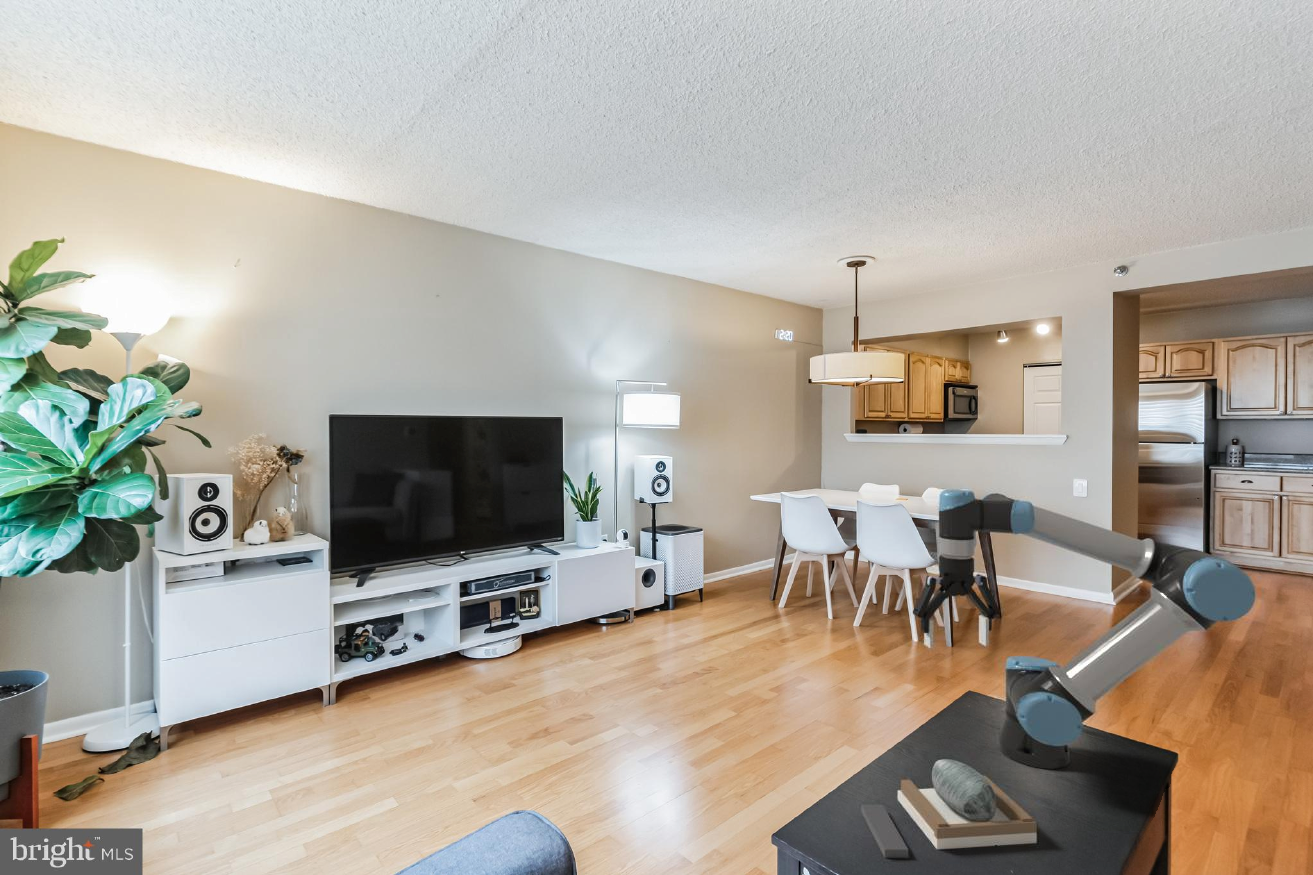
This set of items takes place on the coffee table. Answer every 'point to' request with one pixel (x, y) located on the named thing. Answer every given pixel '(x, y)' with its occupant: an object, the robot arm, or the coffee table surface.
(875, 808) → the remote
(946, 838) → the shelf bay
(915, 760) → the coffee table surface
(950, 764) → the grey streaked oval piece
